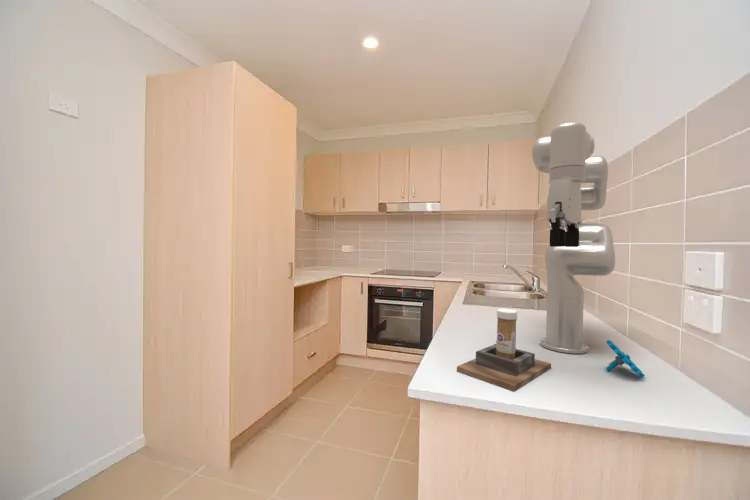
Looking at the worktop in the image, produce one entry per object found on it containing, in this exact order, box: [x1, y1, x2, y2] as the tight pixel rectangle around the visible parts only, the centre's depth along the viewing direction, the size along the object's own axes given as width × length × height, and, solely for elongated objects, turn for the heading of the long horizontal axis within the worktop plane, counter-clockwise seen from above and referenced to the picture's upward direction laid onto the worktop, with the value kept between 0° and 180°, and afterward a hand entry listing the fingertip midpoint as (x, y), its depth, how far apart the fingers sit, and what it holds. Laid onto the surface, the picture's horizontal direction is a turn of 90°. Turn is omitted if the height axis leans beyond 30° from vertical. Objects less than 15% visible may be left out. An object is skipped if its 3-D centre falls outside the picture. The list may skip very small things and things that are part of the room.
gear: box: [605, 339, 646, 379], centre depth 80 cm, size 11×6×10 cm
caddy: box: [456, 343, 552, 392], centre depth 80 cm, size 20×14×4 cm
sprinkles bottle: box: [495, 308, 518, 360], centre depth 80 cm, size 5×5×14 cm
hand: (564, 246), depth 80 cm, fingers open, 9 cm apart
